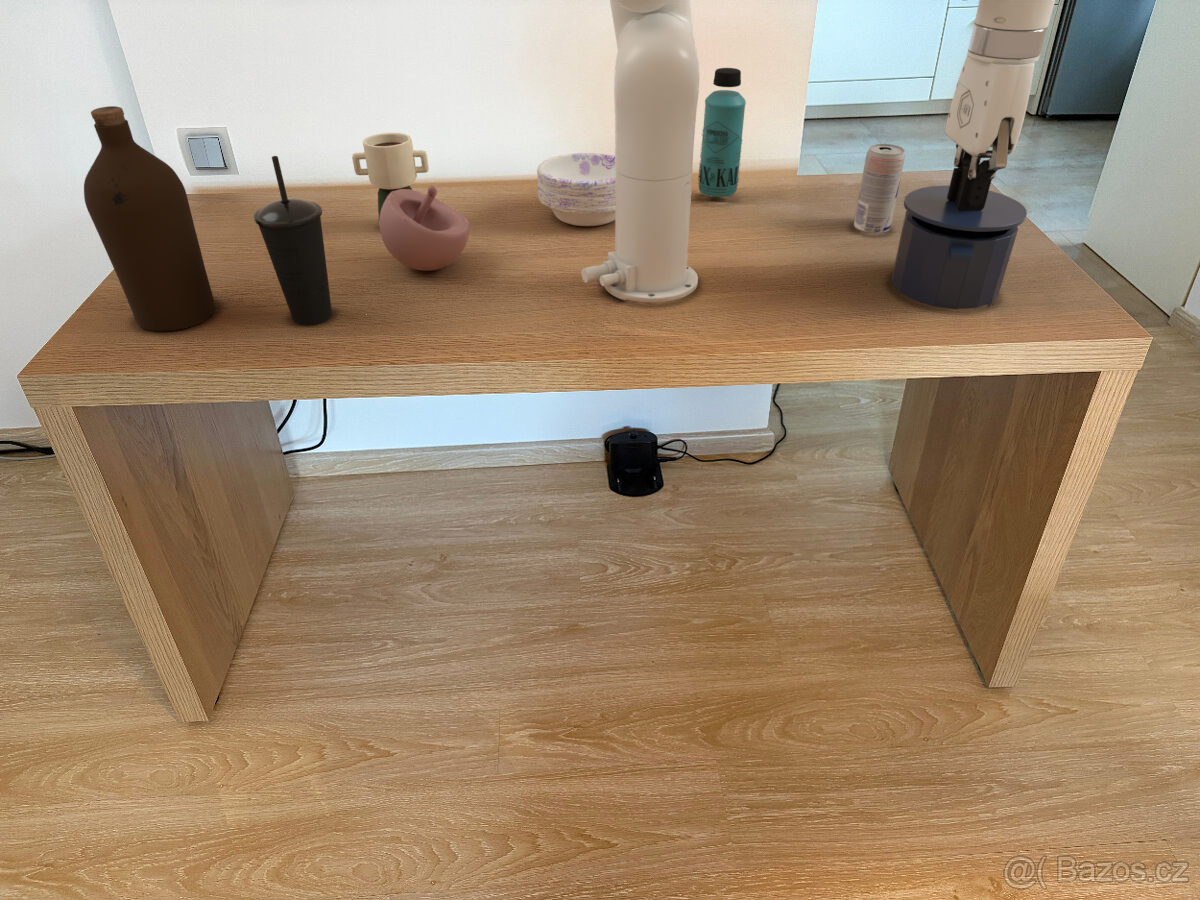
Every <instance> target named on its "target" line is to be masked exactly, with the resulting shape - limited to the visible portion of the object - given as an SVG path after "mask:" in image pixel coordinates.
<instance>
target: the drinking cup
mask: <svg viewBox="0 0 1200 900" xmlns="http://www.w3.org/2000/svg"><path fill="white" fill-rule="evenodd" d="M271 161H272V165H273V169H274V174H275V177H276V182H277V187H278V190H279V193H280V198H281V199H277V200H274V201H272V202H270V203H268V204H266V205H263V206H262V207H260V208H259V209H257V210H256V211H255V212H254V214H253V220H254V222H255V224H256V225H257V226H258V227H259V228H258V229H259V230H260V233H261V235H262V239H263V241H264V244H265V247H266V249H267V253H268V256H269V258H270V261H271V263H272V266H273V269H274V272H275V274H276V277H277V281H278V282H279V286H280V288H281V291H282V295H283V296H284V299H285V302H286V305H287V307H288V311H289V313H290V316H291V318H292V320H293V322H294V323H295V324H297V325H301V326H313V325H319V324H322V323H325V322H326V321H328V320H329V319H330V318H331V317H332V316H333V310H332V302H331V301H332V300H331V293H330V284H329V277H328V268H327V259H326V252H325V251H326V250H325V242H324V235H323V234H324V233H323V226H322V217H321V216H322V215H323V208H322V206H321V205H320V204H319V203H317V202H315V201H311V200H305V199H301V198H288V194H287V189H286V185H285V181H284V178H283V173H282V169H281V164H280V160H279V156H278V155H273V156H271Z"/></svg>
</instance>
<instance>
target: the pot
mask: <svg viewBox="0 0 1200 900" xmlns="http://www.w3.org/2000/svg"><path fill="white" fill-rule="evenodd" d="M1018 231H1019V226H1017V227H1014V228H1011V229H1007V230H1001V231H991V232H975V231H963V230H956V229H950V228H945V227H941V226H937V225H933V224H930V223H927V222H925V221H922V220H920V219H918V218H916V217H914V216H913V215H911V214H910V213H909V212H908V211H907V210H905V213H904V218H903V223H902V228H901V232H900V237H899V241H898V245H897V251H896V255H895V261H894V265H893V269H892V274H891V285H892V286H893V287H894V289H896V291H897V292H898V293H900V294H901V295H903V296H905V297H907V298H908V299H910V300H912V301H915V302H918V303H921V304H925V305H929V306H931V307H937V308H946V309H953V310H961V309H976V308H980V307H983V306H986V305H987V308H989V307H991V306H992V305H993V304H994V303H995V302H996V301H997V298H998V297H999V295H1000V291H1001V288H1002V284H1003V282H1004V278H1005V274H1006V272H1007V268H1008V264H1009V262H1010V258H1011V255H1012V252H1013V249H1014V245H1015V241H1016V238H1017V235H1018Z"/></svg>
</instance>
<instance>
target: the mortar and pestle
mask: <svg viewBox="0 0 1200 900" xmlns="http://www.w3.org/2000/svg"><path fill="white" fill-rule="evenodd" d="M437 195H438V189H437V187H435V186H434V185H429V186H428V187H427V192H426V193H423V192H421V191H418V190H414V189H412V190H410V189H399V190H396V191H392V192H391V193H390V194H389V195H388V196H387V198H386V200H385V202H384V204H383V206H382V209H381V212H380V218H379V217H378V225H379V232H380V236H381V240H382V242H383V244H384V246H385V248H386V250H387V251H388V252H389V254H390V255H391V256H392V257H393V258H394V259H395V260H396V261H397V262H398V263H401V264H402V265H404V266H406V267H407V268H410V269H413V270H416V271H423V272H430V271H436V270H437V271H438V270H441V269H443V268H446V267H447V266H449V265H451V264H452V263H454V262H455V261H456V260H457V259H458V258H459V257H460V256H461V254H462V253H463V252H464V250H465V248H466V245H467V243H468V241H469V235H470V222H469V221H468V219H467V218H466V217H465V216H464V215H463V214H462V213H461V212H459V211H458V210H456V209H455V208H453V207H452V206H450V205H448V204H447V203H445V202H443V201H442V200H440V199H439V198H436V196H437Z"/></svg>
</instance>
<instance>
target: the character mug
mask: <svg viewBox="0 0 1200 900" xmlns="http://www.w3.org/2000/svg"><path fill="white" fill-rule="evenodd" d="M413 145H414V144H413V140H412V137H411V135H408V134H406V133H402V132H384V133H383V132H382V133H377V134H374V135H373V134H372V135H370V136H368V137H365V138H364V139H363V140H362V146H363V150H364V152H354V153H352V154H351V155H352V156H351V158H352V164H353V170H354V173H355V175H357V176H368V179H369V182H370V184H371V186H372V187H374V188H378V190H377V211H378V212H377V213H378V219H379V218H380V212H381V209H382V206H383V204H384V202H385V200H386V198H387V196H388V195H389V194H390V193H391V192H392V191H396V190H399V189H410V190H413V188H412V187H411V185H413V184H415V182H416V180H417V176H418V174H426V173H428V172H429V169H430V168H429V167H430V165H429V160H428V159H429V158H428V154H427V151H426V150H422V149H420V150H419V149H418V150H414V146H413ZM415 158H420V163H421V166H417V165H416V159H415ZM361 160H365V163H366V168H362V167H361V163H360V162H361Z"/></svg>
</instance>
